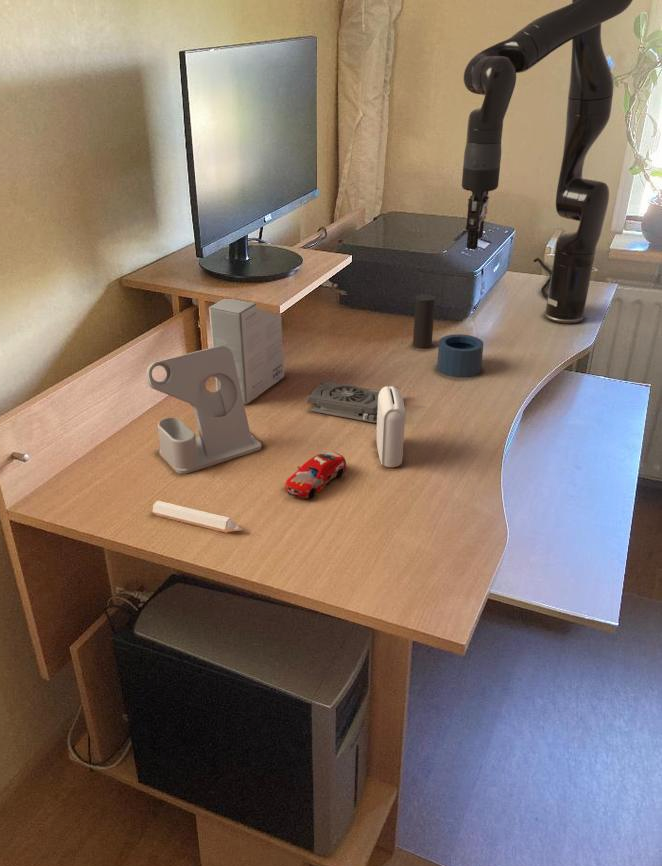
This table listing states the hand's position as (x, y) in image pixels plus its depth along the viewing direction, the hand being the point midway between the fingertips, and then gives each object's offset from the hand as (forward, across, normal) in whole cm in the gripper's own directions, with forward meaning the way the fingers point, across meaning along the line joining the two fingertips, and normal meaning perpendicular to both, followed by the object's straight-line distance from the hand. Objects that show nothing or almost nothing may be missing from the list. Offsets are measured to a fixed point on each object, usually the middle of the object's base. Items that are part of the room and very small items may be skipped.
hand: (474, 242), depth 171 cm
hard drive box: (+23, -36, +40) cm, 59 cm away
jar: (+24, -14, -1) cm, 28 cm away
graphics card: (+23, -38, +17) cm, 48 cm away
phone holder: (+22, -63, +38) cm, 77 cm away
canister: (+24, -4, +10) cm, 26 cm away
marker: (+22, -85, +30) cm, 93 cm away
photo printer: (+23, -55, +6) cm, 60 cm away
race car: (+23, -68, +16) cm, 73 cm away
